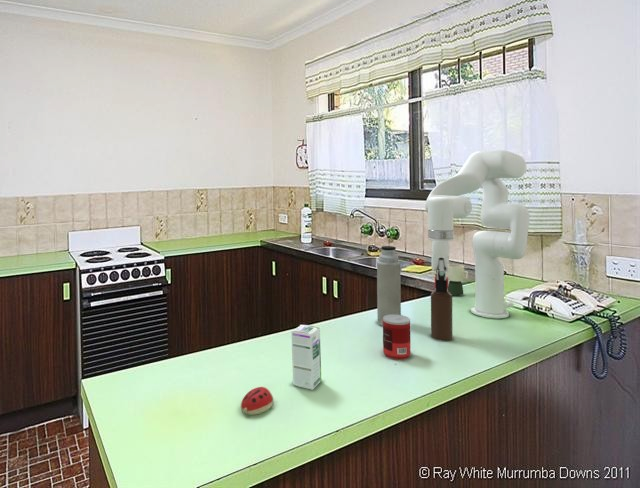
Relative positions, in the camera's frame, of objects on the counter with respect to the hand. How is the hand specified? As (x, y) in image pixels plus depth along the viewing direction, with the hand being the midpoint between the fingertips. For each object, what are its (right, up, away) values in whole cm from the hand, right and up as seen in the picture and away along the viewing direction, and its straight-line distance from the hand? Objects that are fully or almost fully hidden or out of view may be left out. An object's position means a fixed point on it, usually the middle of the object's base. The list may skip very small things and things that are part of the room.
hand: (440, 288), depth 144 cm
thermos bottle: (-12, -16, +15) cm, 25 cm away
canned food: (-19, -17, -12) cm, 28 cm away
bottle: (+1, -16, +1) cm, 16 cm away
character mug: (+29, -14, +49) cm, 59 cm away
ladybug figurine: (-62, -19, -40) cm, 76 cm away
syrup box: (-48, -18, -29) cm, 59 cm away
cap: (0, 0, 0) cm, 0 cm away
